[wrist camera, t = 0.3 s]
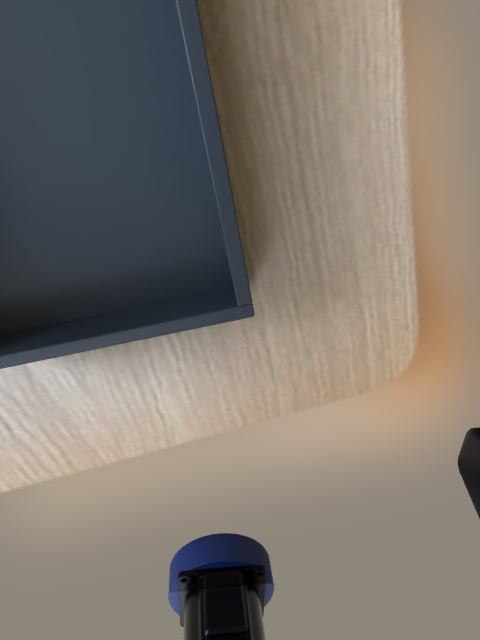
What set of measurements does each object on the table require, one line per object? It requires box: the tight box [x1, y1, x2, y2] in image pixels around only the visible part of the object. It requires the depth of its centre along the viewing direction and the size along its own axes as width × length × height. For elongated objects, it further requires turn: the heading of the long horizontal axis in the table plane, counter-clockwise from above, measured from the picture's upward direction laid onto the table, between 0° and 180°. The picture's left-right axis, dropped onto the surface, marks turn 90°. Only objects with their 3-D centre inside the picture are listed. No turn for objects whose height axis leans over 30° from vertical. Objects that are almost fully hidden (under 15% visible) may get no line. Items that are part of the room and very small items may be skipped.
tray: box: [0, 0, 255, 369], centre depth 16 cm, size 15×12×2 cm
